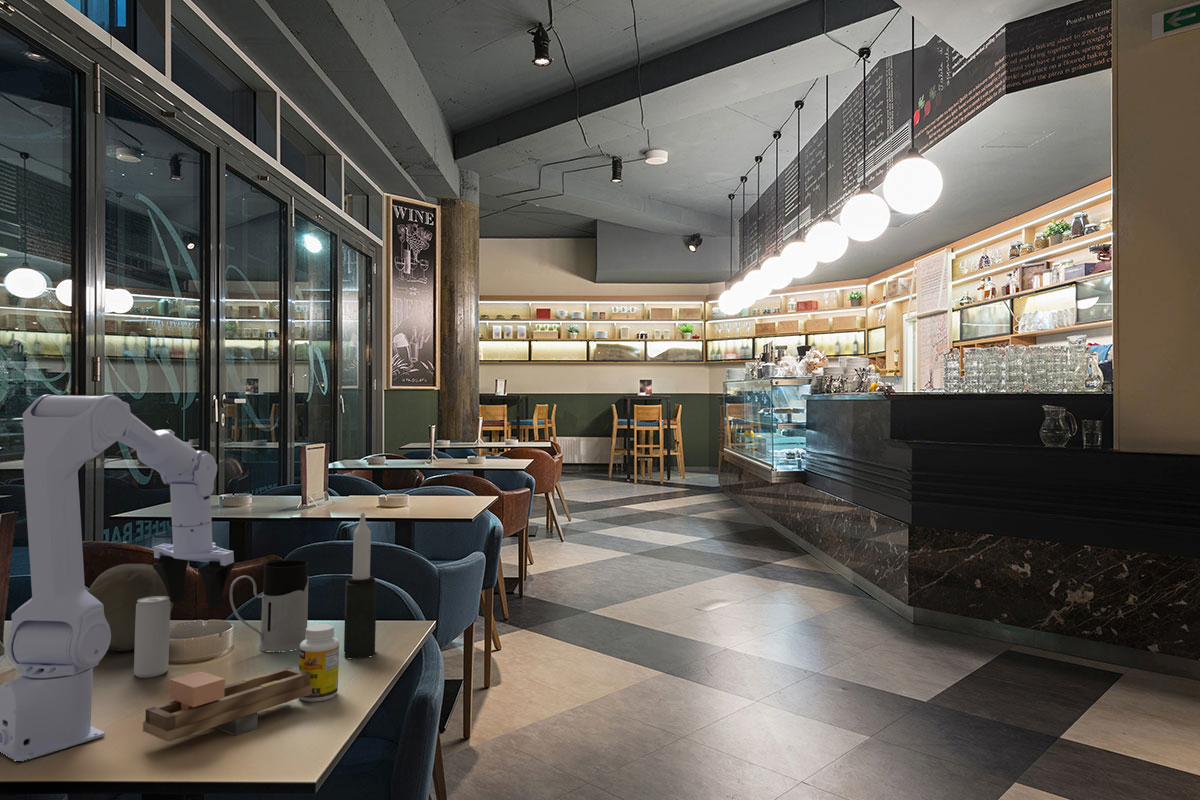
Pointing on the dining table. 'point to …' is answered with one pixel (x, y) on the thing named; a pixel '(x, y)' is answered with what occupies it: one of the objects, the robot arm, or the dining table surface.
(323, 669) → the supplement bottle
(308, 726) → the dining table surface
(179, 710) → the beam
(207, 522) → the robot arm
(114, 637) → the cantaloupe
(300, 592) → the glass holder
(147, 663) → the beverage can
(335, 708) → the dining table surface
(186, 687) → the rider
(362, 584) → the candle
